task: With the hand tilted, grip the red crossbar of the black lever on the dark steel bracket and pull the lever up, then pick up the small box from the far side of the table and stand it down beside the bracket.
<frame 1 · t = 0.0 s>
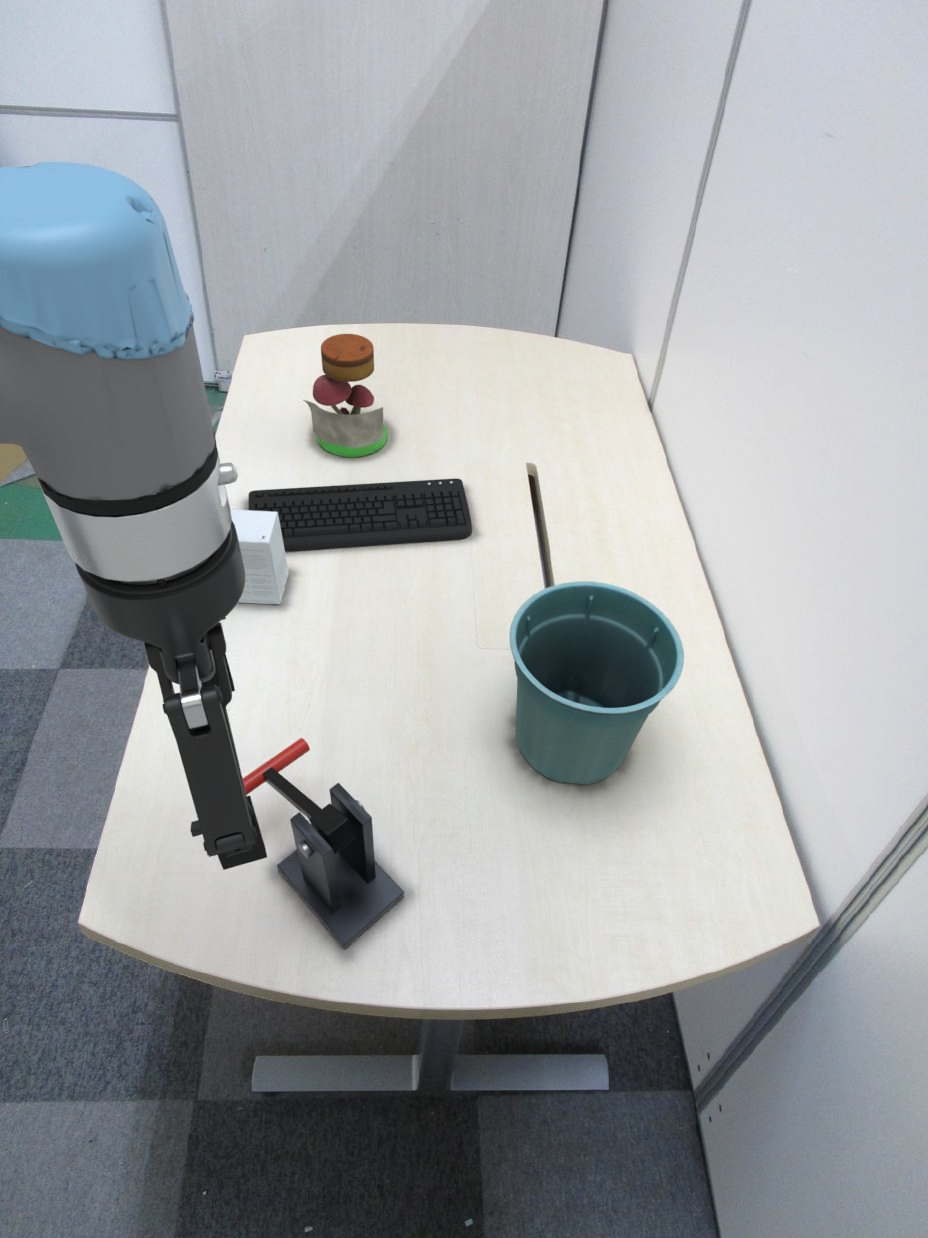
hand: (229, 768, 53), 24 cm above the table, tool pointing down, fingers open, 13 cm apart
small box: (253, 589, 98), on the table
bracket: (340, 883, 73), on the table
lever: (299, 800, 69), point 9 cm above the table, hinge at -20.0°
keyboard: (360, 520, 108), on the table
multicoloured stacked piece: (349, 438, 120), on the table
flower pot: (569, 737, 86), on the table
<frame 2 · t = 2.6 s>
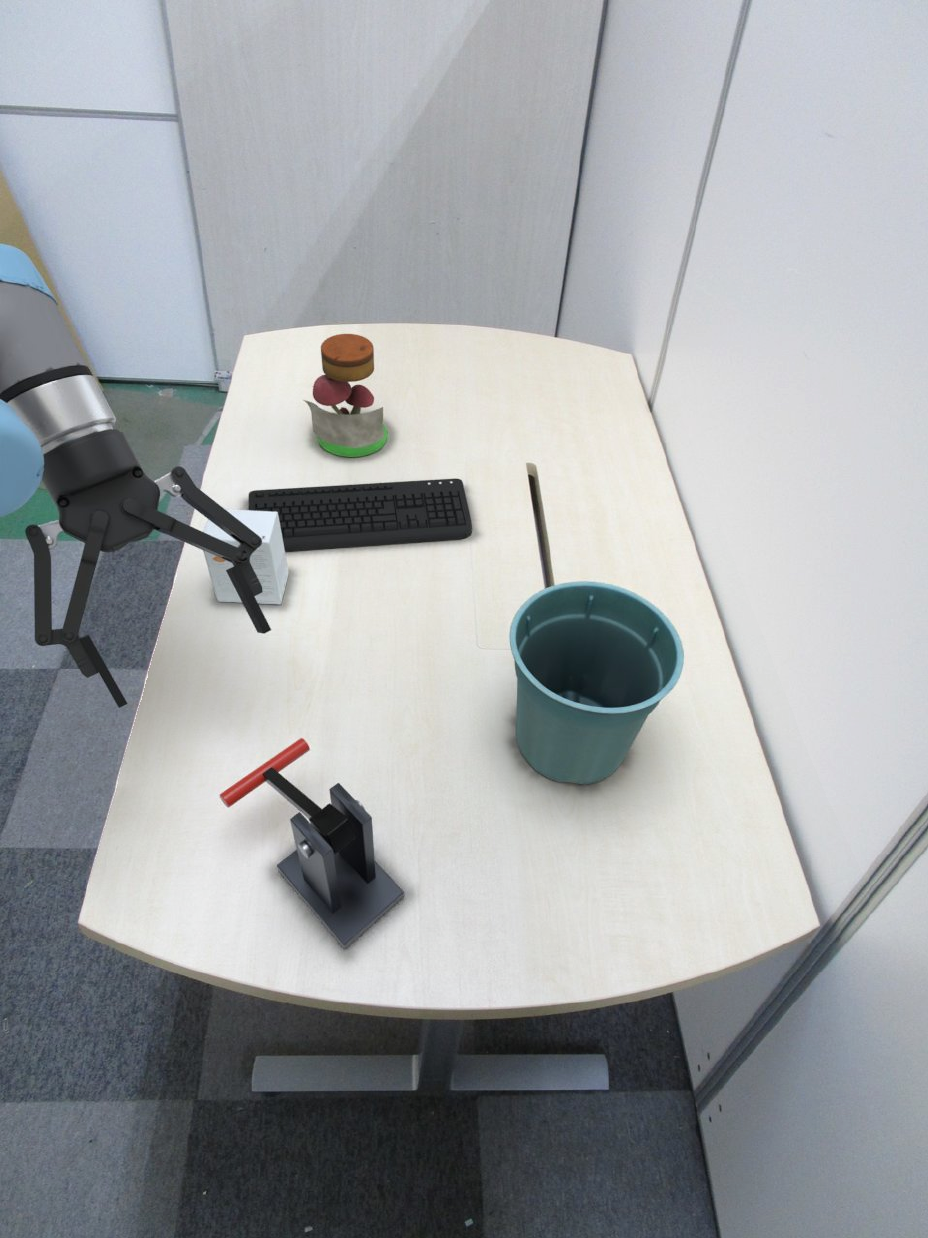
hand: (196, 666, 70), 15 cm above the table, tool tilted 40°, fingers open, 13 cm apart
nothing on the table moved.
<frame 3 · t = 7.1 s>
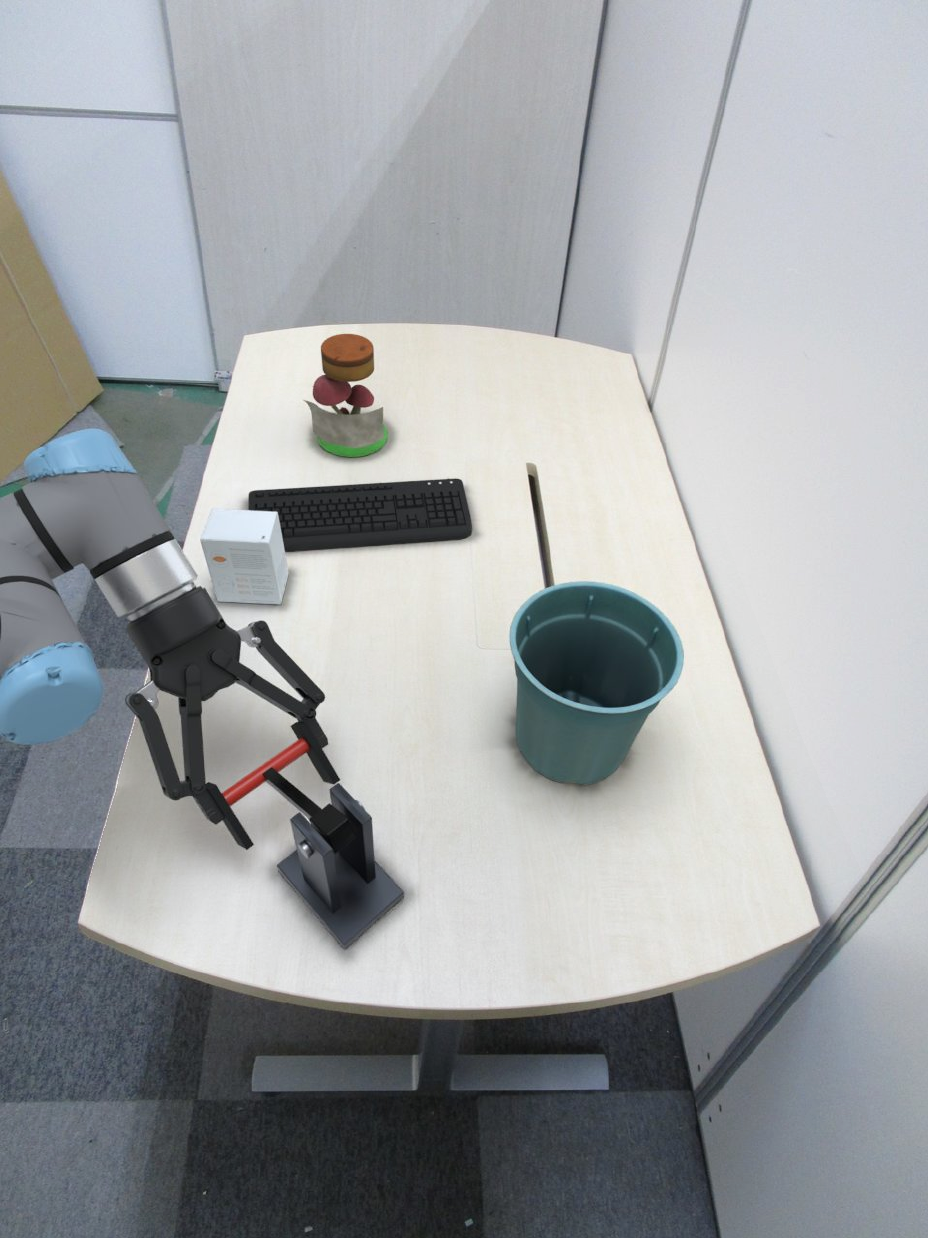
hand: (290, 811, 73), 4 cm above the table, tool tilted 45°, fingers closed on lever, 9 cm apart
lever: (299, 800, 69), point 9 cm above the table, hinge at -20.0°, touching gripper
everything else where it was.
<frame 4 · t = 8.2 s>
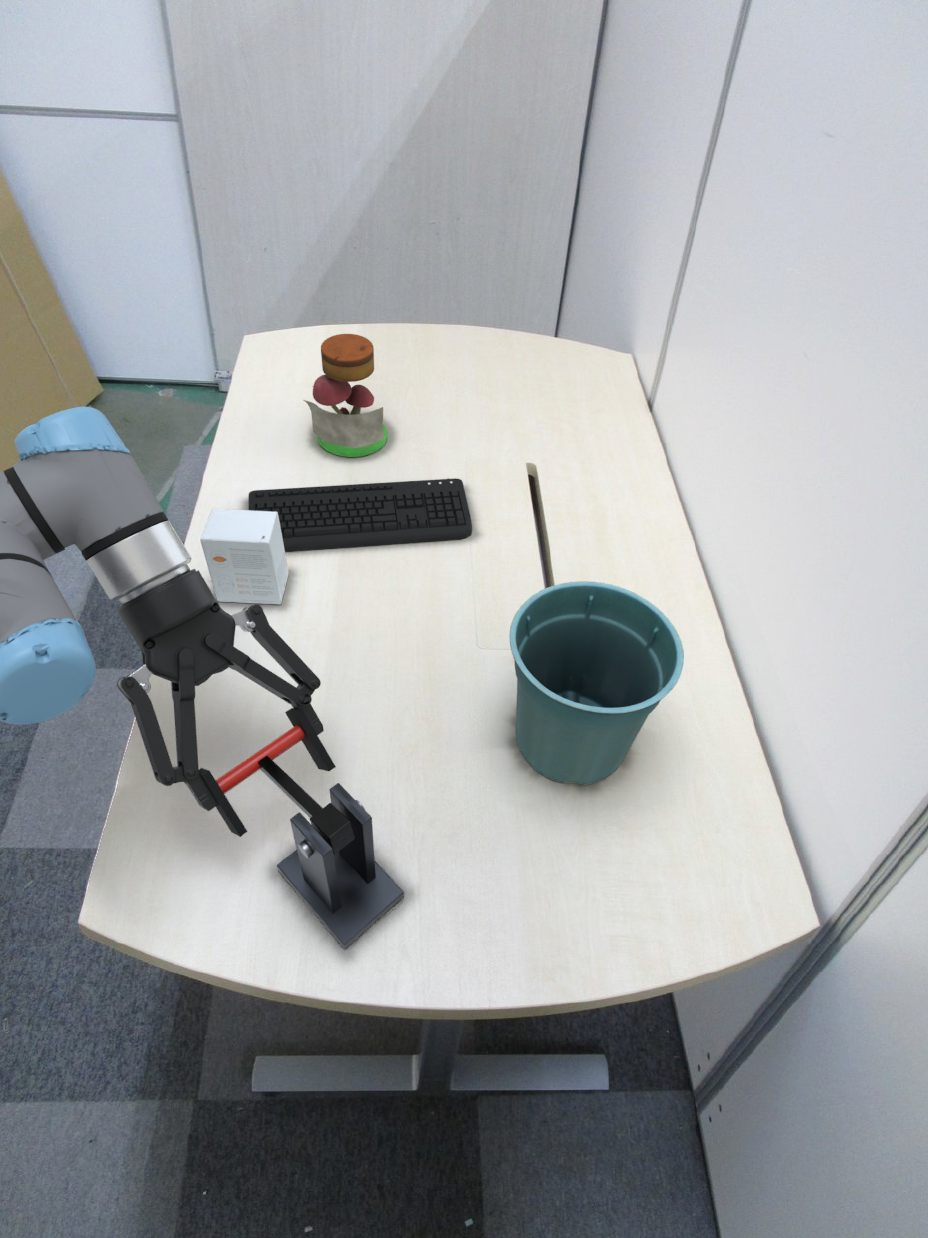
hand: (284, 798, 72), 6 cm above the table, tool tilted 45°, fingers closed on lever, 9 cm apart
lever: (297, 794, 68), point 10 cm above the table, hinge at -11.1°, touching gripper
everything else where it was.
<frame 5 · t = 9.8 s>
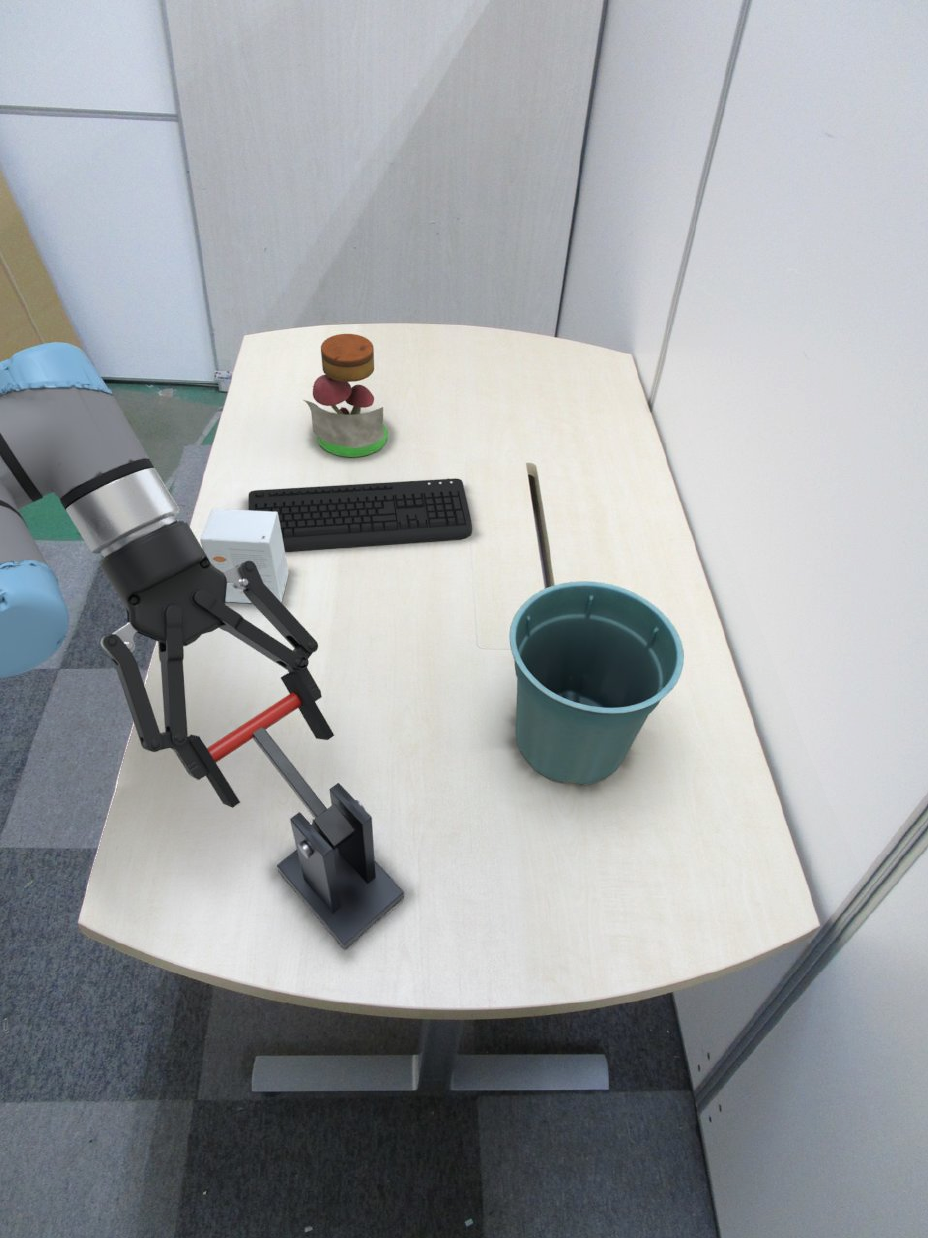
hand: (280, 768, 68), 12 cm above the table, tool tilted 45°, fingers closed on lever, 9 cm apart
lever: (294, 780, 66), point 13 cm above the table, hinge at 17.6°, touching gripper
everything else where it was.
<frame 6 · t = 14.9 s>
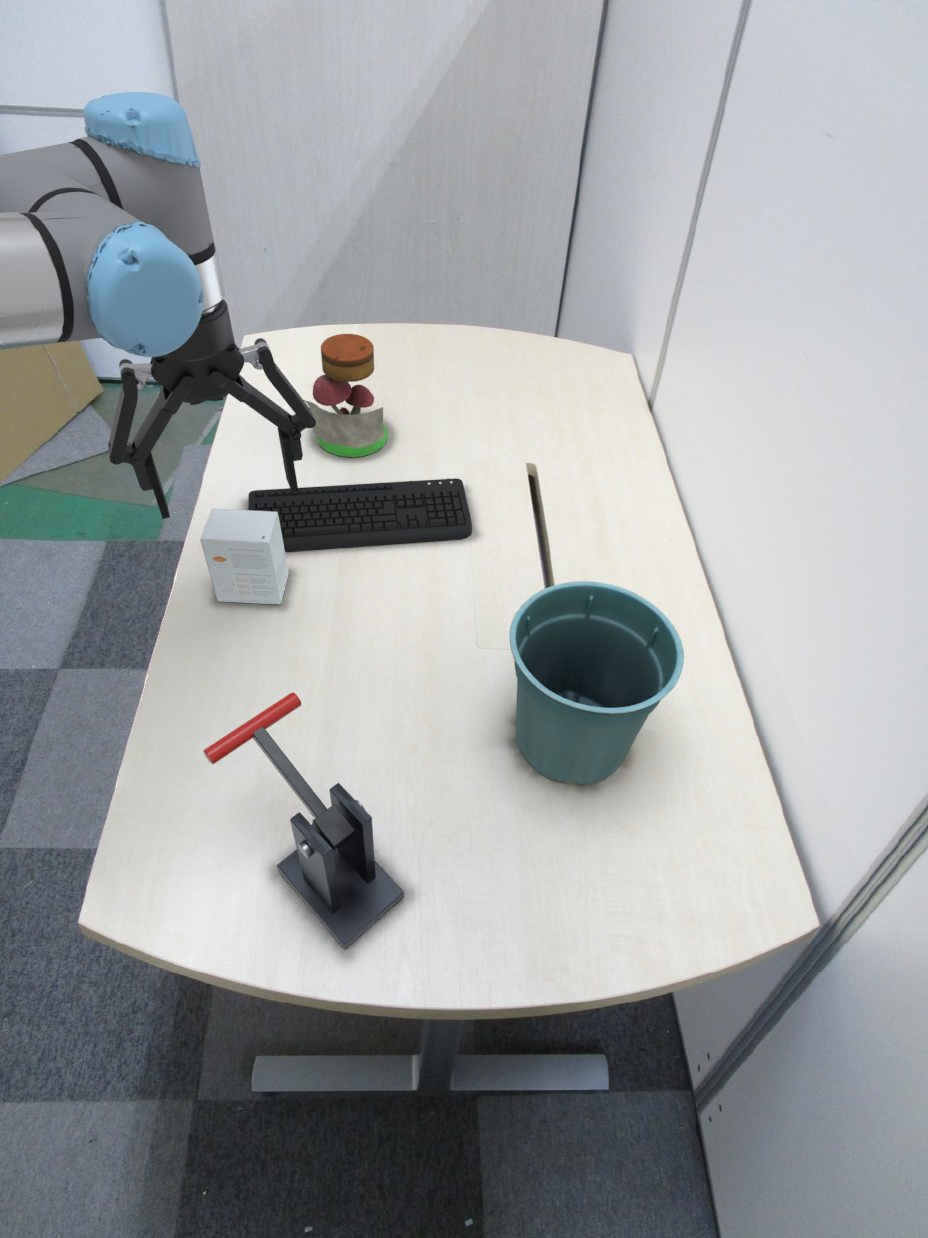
hand: (230, 497, 85), 16 cm above the table, tool pointing down, fingers open, 13 cm apart
lever: (294, 780, 66), point 13 cm above the table, hinge at 18.0°
everything else where it was.
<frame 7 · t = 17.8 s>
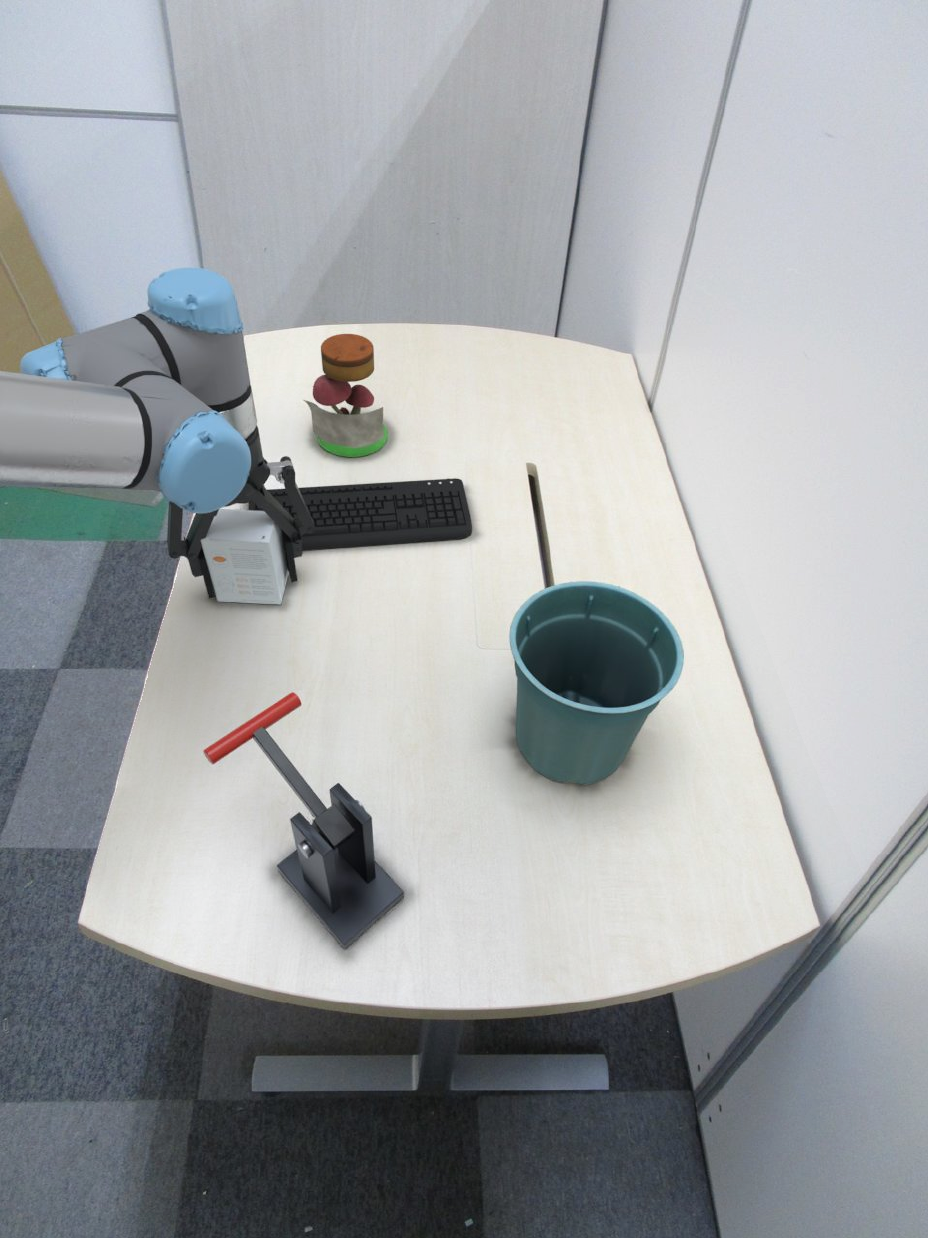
hand: (252, 582, 97), 1 cm above the table, tool pointing down, fingers closed on small box, 9 cm apart
small box: (253, 589, 98), on the table, touching gripper
everything else where it was.
when the fingers open (1 cm above the table, at t = 25.6 s): small box stays where it is, on the table.
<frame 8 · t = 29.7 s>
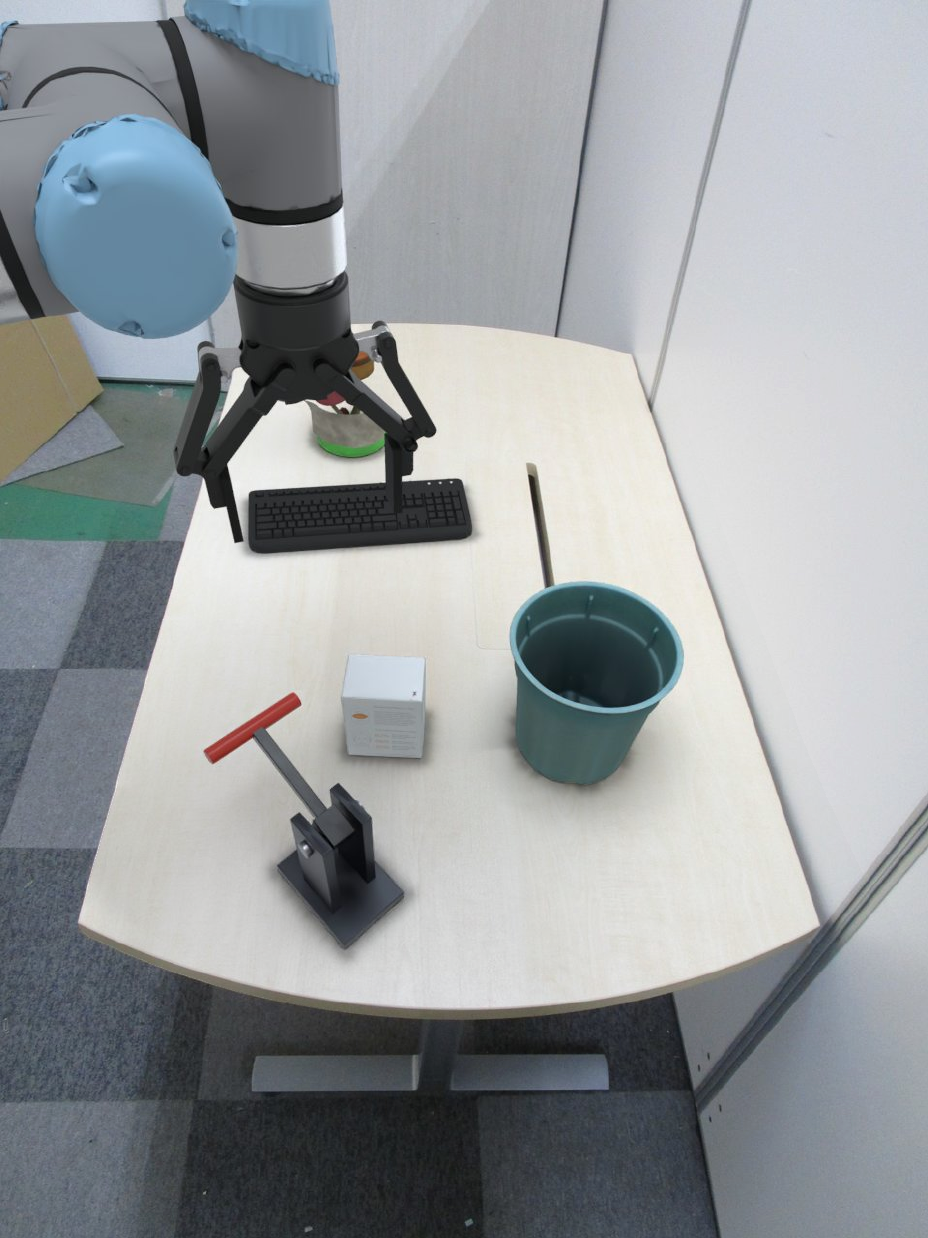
hand: (317, 517, 67), 27 cm above the table, tool pointing down, fingers open, 13 cm apart
small box: (387, 737, 85), on the table
everything else where it was.
at the end: lever at +18° (first picture: -20°); small box inside the target area (0.0 cm from its centre), on the table; small box tilted 0° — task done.
